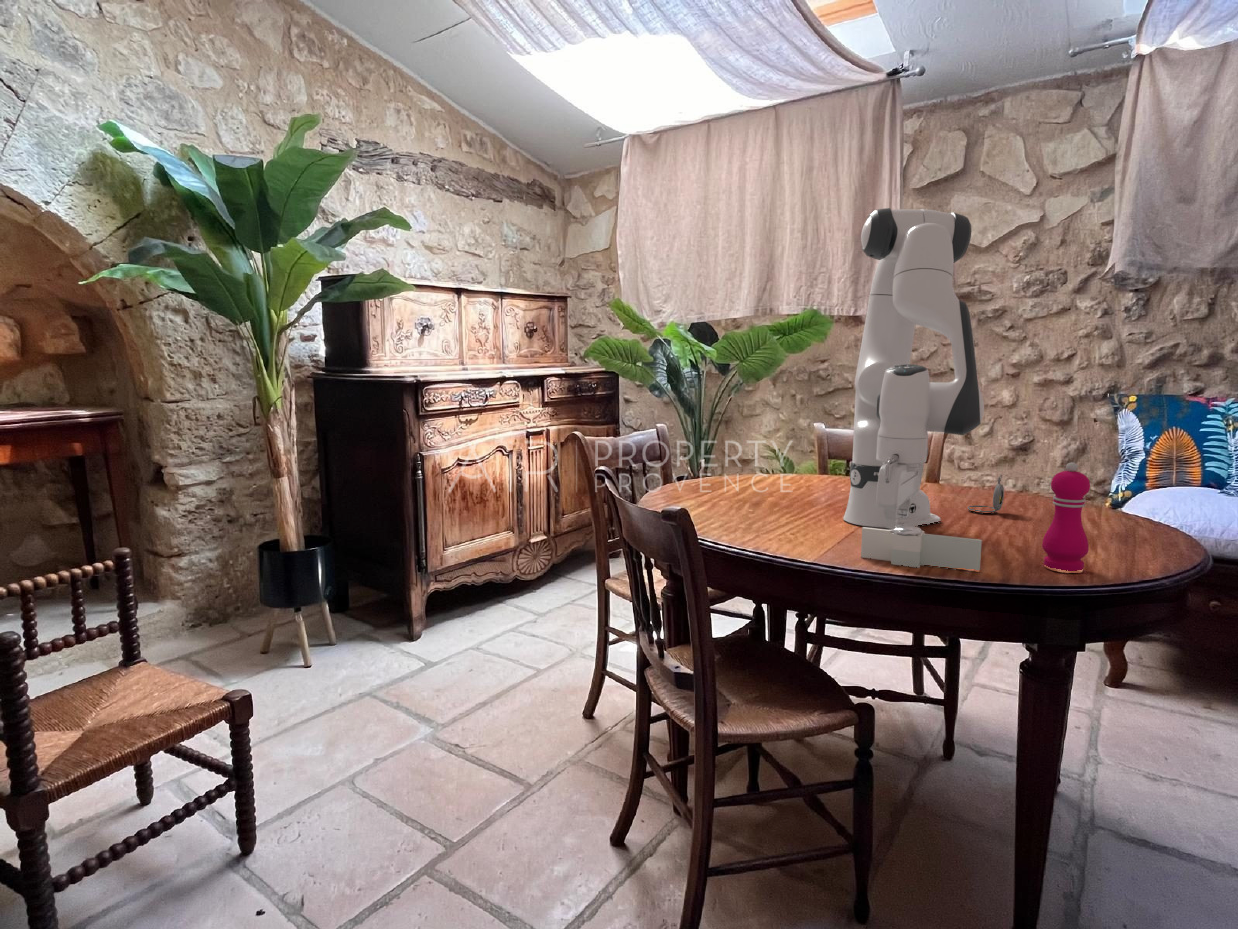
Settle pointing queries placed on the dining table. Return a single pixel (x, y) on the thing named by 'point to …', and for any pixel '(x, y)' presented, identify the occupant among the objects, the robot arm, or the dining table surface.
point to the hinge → (921, 549)
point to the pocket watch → (995, 498)
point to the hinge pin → (906, 530)
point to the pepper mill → (1067, 521)
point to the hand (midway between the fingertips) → (897, 523)
